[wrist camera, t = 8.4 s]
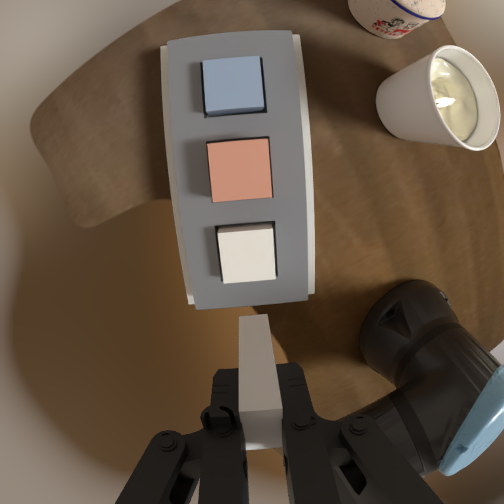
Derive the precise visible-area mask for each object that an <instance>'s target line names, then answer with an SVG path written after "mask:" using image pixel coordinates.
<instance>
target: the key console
mask: <svg viewBox="0 0 504 504" xmlns="http://www.w3.org/2000/svg"><path fill="white" fill-rule="evenodd" d="M160 48H161V83H162V103H163V119H164V132H165V144H166V154H167V164H168V174H169V183H170V191H171V199H172V207H173V214H174V221H175V228H176V235H177V241H178V247H179V254H180V260H181V266H182V272H183V277H184V283H185V288H186V294H187V299H188V304H195V308H196V310H201V309H218V308H231V307H244V306H256V305H267V304H277V303H287V302H297V301H306V300H308V294H314V293H315V231H314V195H313V172H312V155H311V139H310V126H309V114H308V103H307V93H306V83H305V74H304V65H303V57H302V50H301V42H300V35H292V31H290V30H264V31H241V32H228V33H218V34H209V35H201V36H194V37H188V38H182V39H176V40H171V41H167V45H166V46H161V47H160ZM247 56H259V57H260V67H261V78H262V88H263V100H264V108H263V110H262V112H250V113H237V114H226V115H216V116H209V115H208V113H207V112H206V105H205V91H204V75H203V61H205V60H213V59H222V58H233V57H247ZM255 139H268V146H269V159H270V173H271V188H272V197H271V198H257V199H245V200H234V201H223V202H213V198H212V189H211V178H210V168H209V157H208V146H207V144H211V143H220V142H230V141H241V140H255ZM267 221H270V223H271V225H272V228H273V238H274V256H275V275H276V279H273V280H262V281H250V282H238V283H226V284H224V282H223V274H222V266H221V258H220V250H219V241H218V230H219V227H220V226H221V225H232V224H243V223H255V222H267Z"/></svg>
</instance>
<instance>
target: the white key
mask: <svg viewBox="0 0 504 504" xmlns="http://www.w3.org/2000/svg"><path fill="white" fill-rule="evenodd" d="M218 241H219V250H220V258H221V266H222V274H223V282H224V284H226V283H238V282H250V281H262V280H273V279H276V275H275V256H274V238H273V228H272V225H271V223H270V221H267V222H255V223H243V224H232V225H221V226H220V227H219V230H218Z"/></svg>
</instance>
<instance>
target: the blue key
mask: <svg viewBox="0 0 504 504" xmlns="http://www.w3.org/2000/svg"><path fill="white" fill-rule="evenodd" d="M203 75H204V91H205V105H206V112H207V113H208V115H209V116H216V115H226V114H237V113H250V112H262V110H263V108H264V100H263V88H262V78H261V67H260V57H259V56H247V57H233V58H222V59H213V60H205V61H203Z"/></svg>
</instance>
